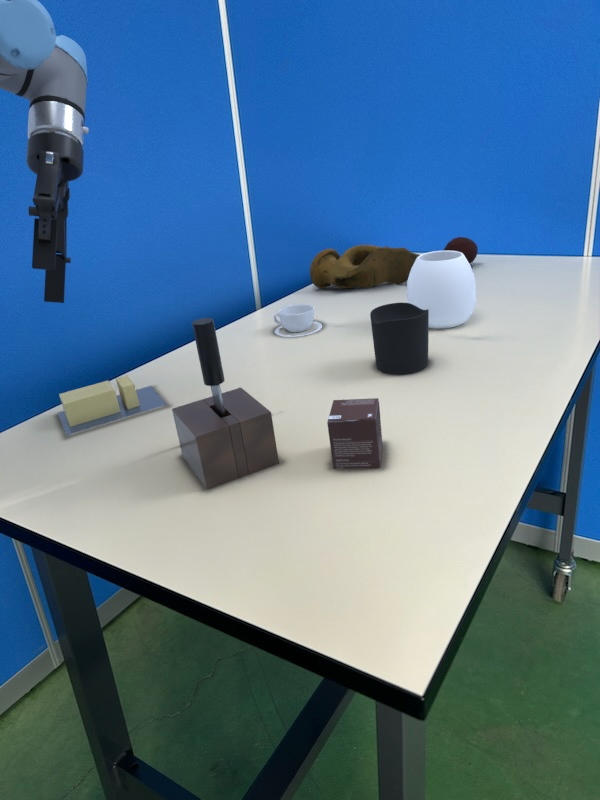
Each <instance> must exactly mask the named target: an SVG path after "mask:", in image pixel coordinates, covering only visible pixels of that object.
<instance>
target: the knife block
mask: <svg viewBox="0 0 600 800" xmlns="http://www.w3.org/2000/svg"><path fill="white" fill-rule="evenodd" d="M221 393H222V398H223V403H224V409H225V414H226V417H223V418H220V417H219V416H218V415H217V414H216V411H215V406H214V401H213V396H212V395H211V396H208V397H205V398H202V399H199V400H196V401H192V402H190V403H189V402H188V403H186V404H183V405H180V406H176V407H172V408H171V411H172V416H173V420H174V425H175V429H176V434H177V437H178V442H179V446H180V451H181V455H182V458H183V460H184V461H185V463H186V464H187V465H188V466H189V468H190V469H191V471H192V472H193V473H194V475H195V476H196V477H197V478H198V480H199V481H200V483H201V484H202V485H203V487H204V488H205V489H206V490H211V489H213V488H216V487H219V486H222V485H224V484H227V483H229V482H232V481H236V480H238V479H241V478H244V477H247V476H248V475H252V474H254V473H258V472H260V471H263V470H265V469H268V468H271V467H274V466H277V465H279V464H280V460H279V453H278V447H277V441H276V435H275V428H274V422H273V416H272V412H271V410H270V409H268V408H267V407H266V406H265V405H263V404H262V403H261V402H259V401H258V400H257V399H256V398H254V397H253V396H252V395H251V394H250V393H249V392H247V391H246V390H245V389H244V388H243V387H238V388H235V389H230V390H228V391H224V392H221Z"/></svg>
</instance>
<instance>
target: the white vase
mask: <svg viewBox="0 0 600 800" xmlns="http://www.w3.org/2000/svg"><path fill="white" fill-rule="evenodd" d="M419 255H420V256H418V257H417V258H416V260H415V262H414V264H413V266H412V268H411V271H410V274H409V277H408V280H407V281H406V282H407V284H406V286H407V287H406V301H407V302H406V303H410V304H413V305H415V306H417V307H419V308H420V309H422V310H427V309H428V310H429V328H428V329H436V330H438V329H440V330H442V329H451V328H455V327H459V326H461V325H463V324H464V323H466V322H467V321H468V320H470V318H471V316H472V315H473V314H474V310H475V308H476V305H477V283H476V276H475V273H474V271H473V268H472V266H471V263H470V264H469V262H468V261H467V259H466V257H465V256H464V254H463V253H461V252H458V251H444V250H433V251H429V252H425V253H421V254H419Z"/></svg>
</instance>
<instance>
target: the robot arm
mask: <svg viewBox="0 0 600 800" xmlns="http://www.w3.org/2000/svg"><path fill="white" fill-rule="evenodd" d="M55 29H56V28H55V24H54V21H53V19H52V17H51V15H50V13H49V12H48V10H47V9H46V7H45V6H44V5H43V4H42V3H41V2H40V1H39V0H0V90H4V91H6V92H9V93H11V94H13V95H15V96H18V97H20V98H23V99H26V100H29V106H28V107H29V109H28V120H27V139H28V140H27V143H26V144H27V145H26V165H27V167H28V169H29V170H30V171H31V172H32V173H33V174H35V175H36V180H35V186H34V191H33V197H32V203H33V205H34V206H31V205H28V216H29V217H35V218H34V221H33V236H32V237H33V239H32V256H31V257H32V258H31V259H32V260H31V268H32V269H33V270H44V271H45V274H44V275H45V276H44V291H43V292H44V294H43V295H44V296H43V302H44V303H56V304H57V303H58V304H59V303H60V304H64V303H65V292H66V290H65V289H66V288H65V287H66V268H67V267H66V266H67V264H71V261H72V258H71V257H67V256H68V254H67V253H68V252H67V250H68V249H67V248H68V246H67V245H68V243H67V242H68V241H67V240H68V239H67V238H68V235H67V234H68V232H67V231H68V227H67V226H68V217H69V200H70V199H71V189H70V187H69V186H70V185H69V182H73V181H76V180H77V179H80V177H81V176H83V173H84V157H85V156H84V155H85V153H84V145H85V135H88V134H89V133H90V129H89V127H87V126H85V121H86V101H87V86H88V82H89V79H88V66H87V57H86V54H85V52H84V50H83V48H82V47H81V46H80V45H79V44H78V43H77V42H76V41H75V40H73V39H72V38H70V37H68V36H66V35H63V34H60V35H57V34H56V30H55Z"/></svg>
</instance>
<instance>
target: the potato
mask: <svg viewBox="0 0 600 800" xmlns="http://www.w3.org/2000/svg"><path fill="white" fill-rule="evenodd" d="M443 251H458V252H461V253H463V254H464V256H465V257H466V259H467V261H468V262H469V264H470V265H471V264H472V263H473V262H474V261H475V260H476V258H477V255H478V251H479V249H478V245H477V244H476V242H475V241H474V240H473V239H471V238H469V237H465V236H458V237H457V236H456V237H453V238H452V239H451V240H449V241H448V242H447V243H446V245H445V247H444V248H443Z"/></svg>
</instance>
